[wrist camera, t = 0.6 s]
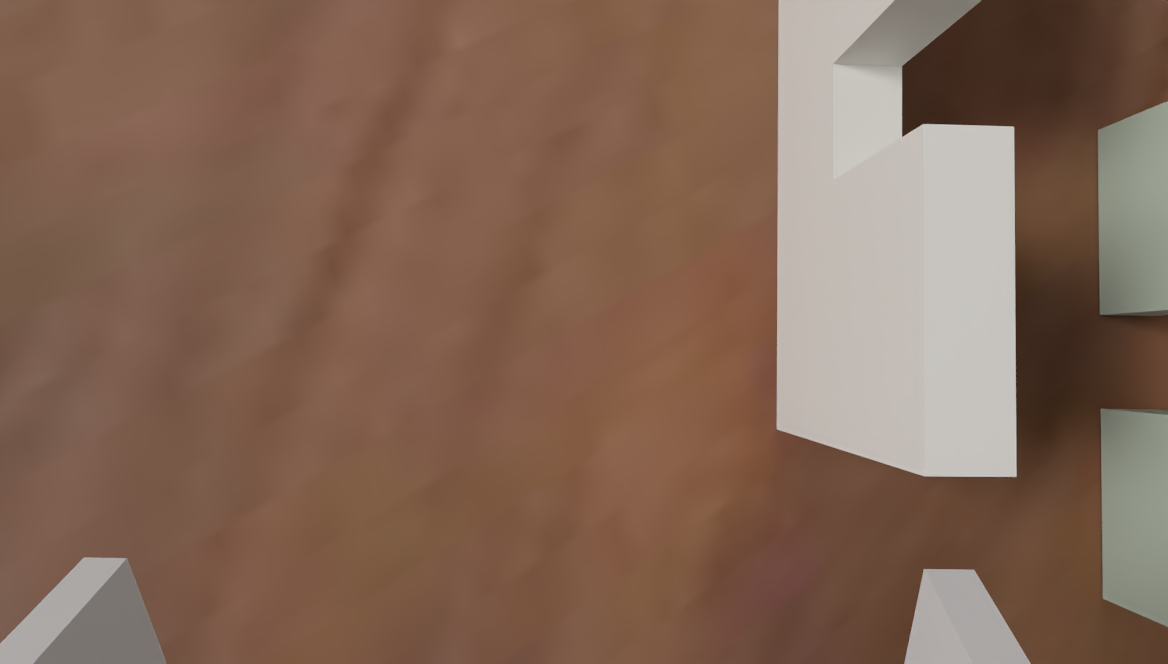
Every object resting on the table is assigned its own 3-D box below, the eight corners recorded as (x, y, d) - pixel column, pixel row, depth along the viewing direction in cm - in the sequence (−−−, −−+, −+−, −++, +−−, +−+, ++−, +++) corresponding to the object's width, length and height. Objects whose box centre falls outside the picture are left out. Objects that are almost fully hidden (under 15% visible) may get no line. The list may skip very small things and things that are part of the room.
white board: (833, 429, 31) (1016, 476, 19) (776, 429, 30) (924, 476, 18) (834, -86, 31) (1011, -360, 19) (778, -88, 31) (922, -366, 19)
